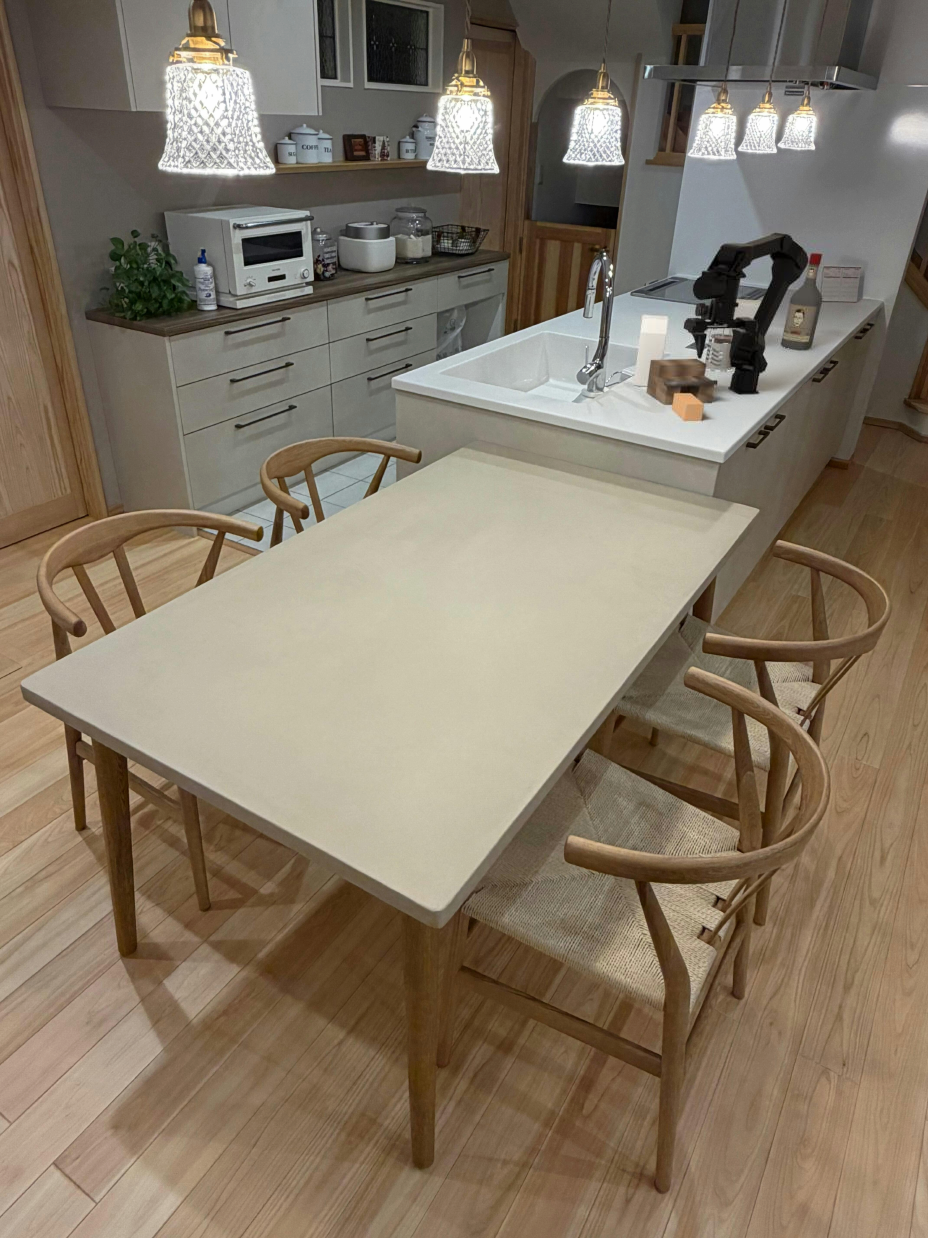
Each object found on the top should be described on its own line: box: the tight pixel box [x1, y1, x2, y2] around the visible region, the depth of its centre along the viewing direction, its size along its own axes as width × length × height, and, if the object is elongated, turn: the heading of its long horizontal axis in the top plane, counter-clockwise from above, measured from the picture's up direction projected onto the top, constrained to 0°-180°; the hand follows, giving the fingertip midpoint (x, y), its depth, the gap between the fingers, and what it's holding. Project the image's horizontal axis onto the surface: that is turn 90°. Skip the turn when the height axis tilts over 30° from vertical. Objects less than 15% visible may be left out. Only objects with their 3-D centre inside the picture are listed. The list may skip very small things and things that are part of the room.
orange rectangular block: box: [671, 393, 705, 422], centre depth 218 cm, size 4×10×4 cm, turn 6°
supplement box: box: [728, 298, 762, 344], centre depth 287 cm, size 9×9×15 cm
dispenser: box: [646, 358, 719, 406], centre depth 230 cm, size 15×13×9 cm
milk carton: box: [633, 314, 669, 387], centre depth 240 cm, size 7×7×19 cm
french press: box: [704, 328, 733, 371], centre depth 258 cm, size 10×12×25 cm
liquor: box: [780, 252, 823, 351], centre depth 285 cm, size 9×9×30 cm
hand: (715, 357), depth 227 cm, fingers open, 9 cm apart
